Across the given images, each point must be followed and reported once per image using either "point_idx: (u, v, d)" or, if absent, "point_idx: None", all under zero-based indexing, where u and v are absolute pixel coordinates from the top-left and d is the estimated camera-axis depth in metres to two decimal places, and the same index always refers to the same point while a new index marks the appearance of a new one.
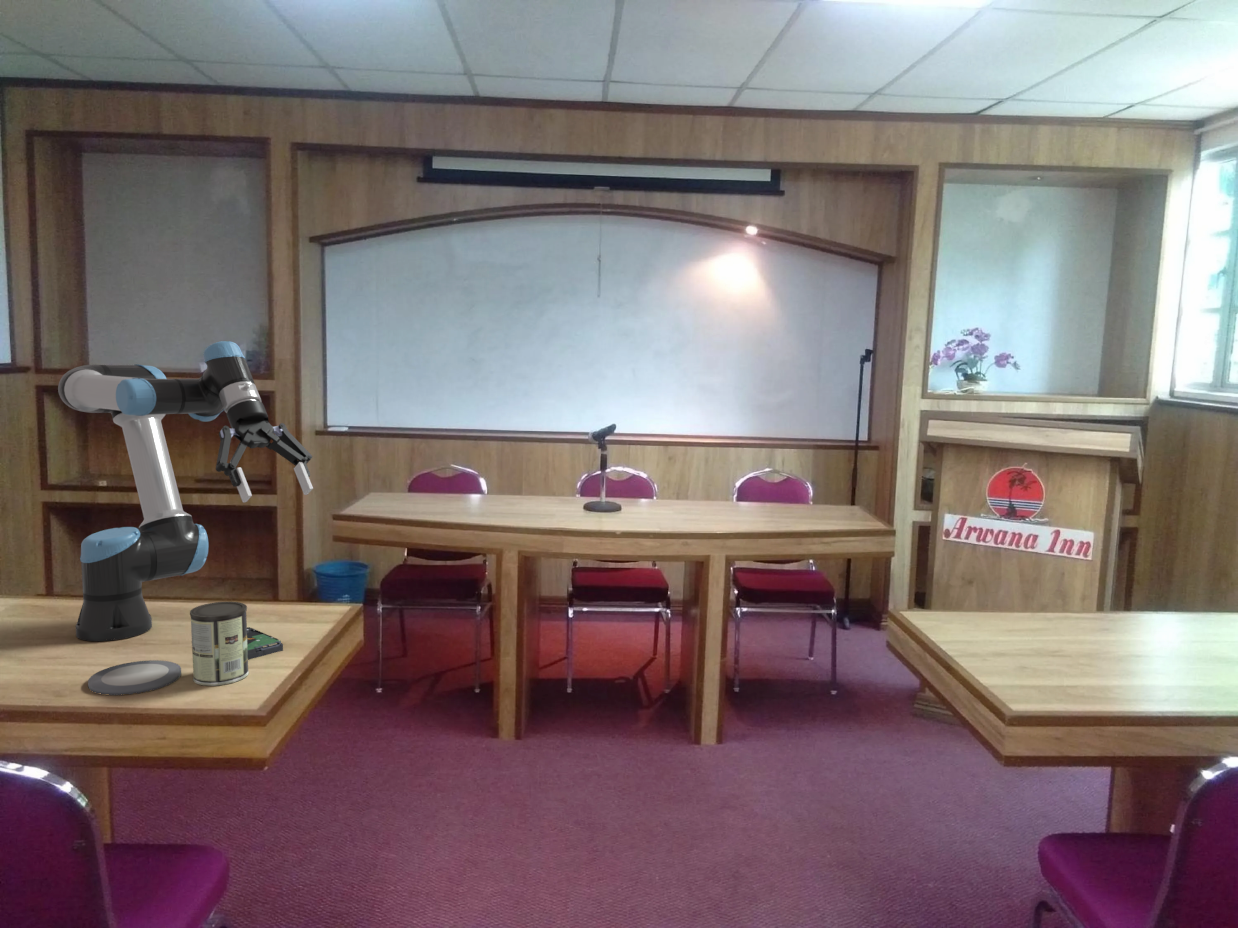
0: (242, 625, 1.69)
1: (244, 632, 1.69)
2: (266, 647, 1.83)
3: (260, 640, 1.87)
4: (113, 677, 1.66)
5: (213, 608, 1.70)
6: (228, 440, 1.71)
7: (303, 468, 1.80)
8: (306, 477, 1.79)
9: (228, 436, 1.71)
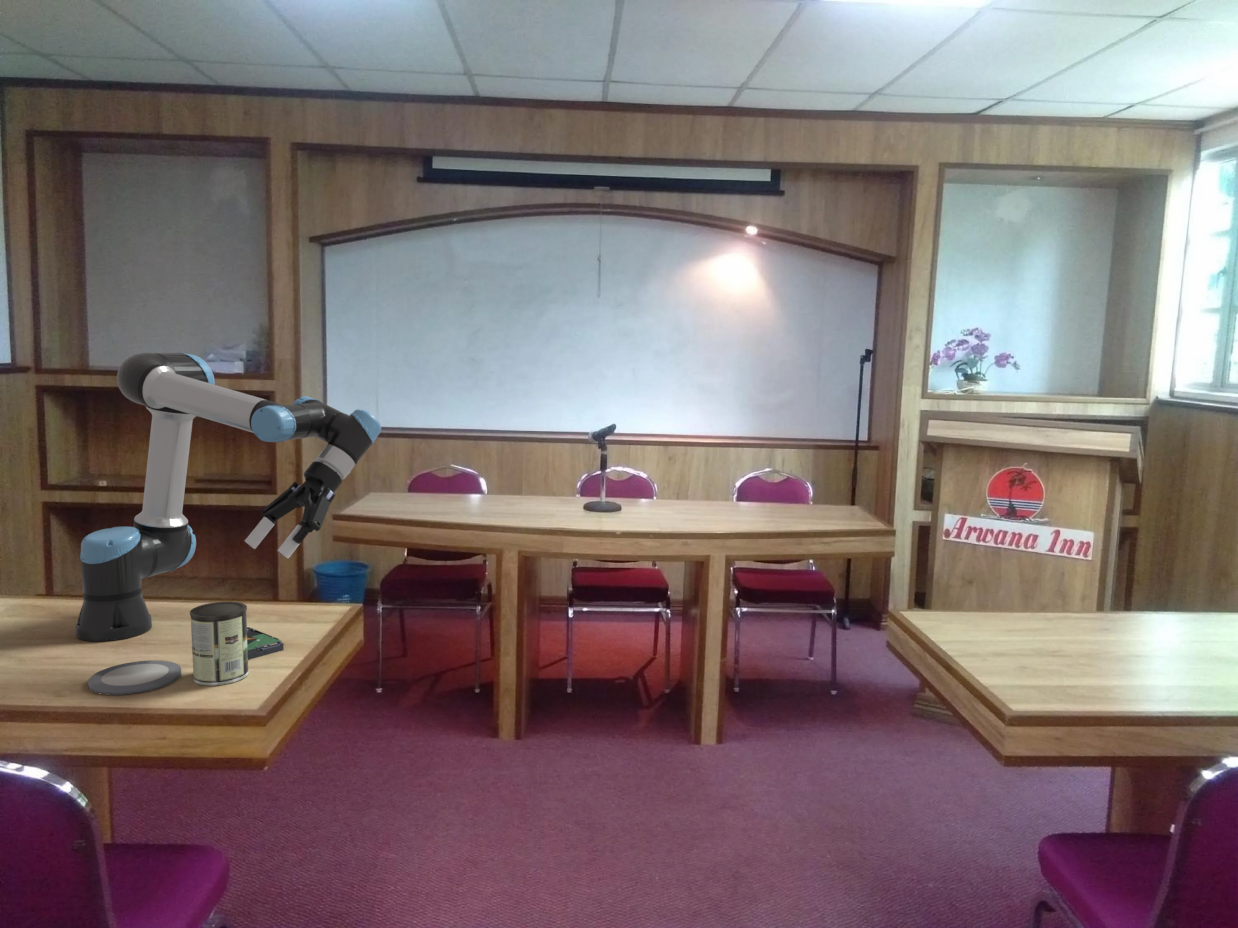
0: (242, 625, 1.69)
1: (244, 632, 1.69)
2: (267, 647, 1.83)
3: (260, 639, 1.87)
4: (113, 677, 1.66)
5: (213, 608, 1.70)
6: None
7: None
8: None
9: None
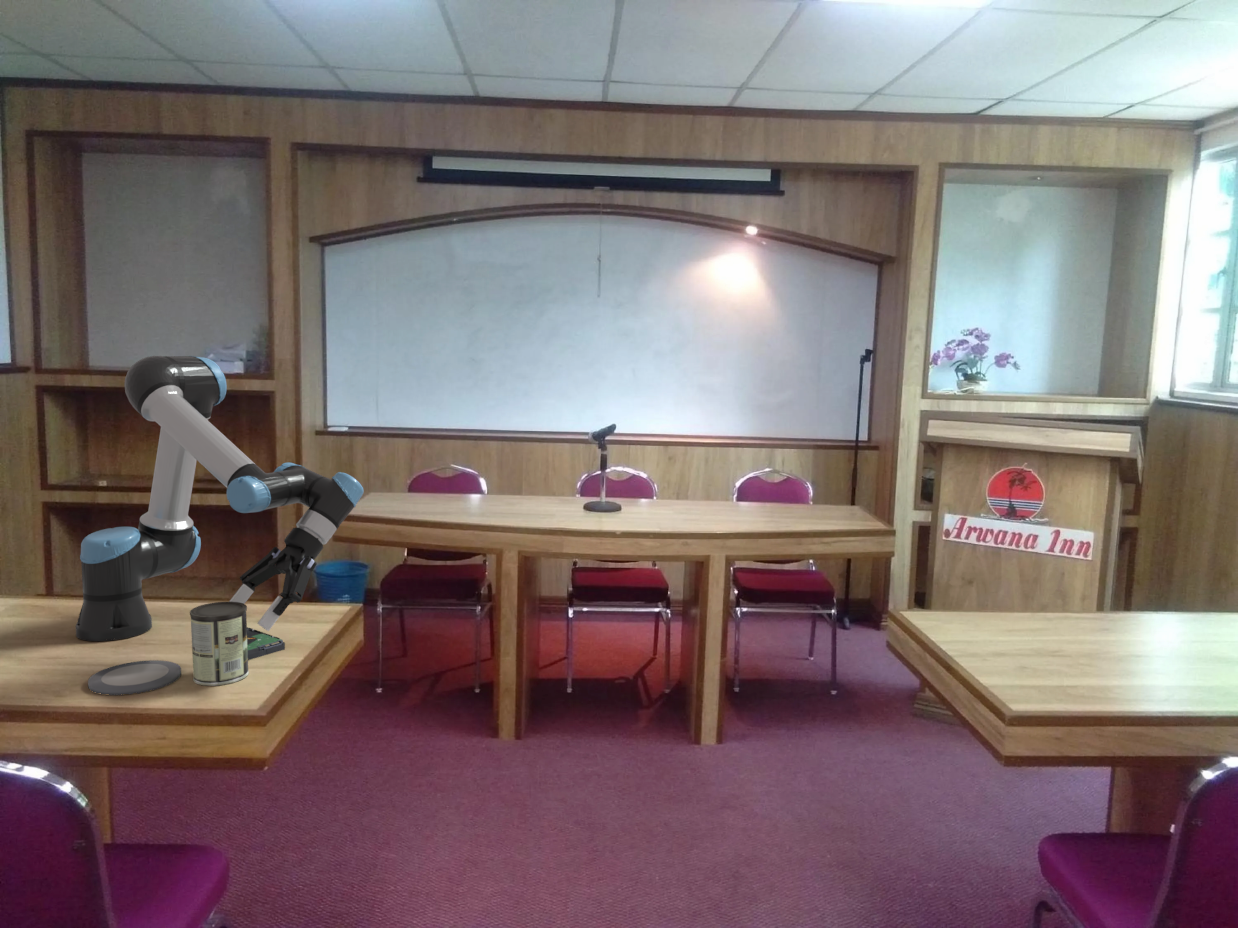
0: (242, 625, 1.69)
1: (244, 632, 1.69)
2: (269, 646, 1.84)
3: (261, 639, 1.87)
4: (113, 677, 1.66)
5: (213, 608, 1.70)
6: None
7: None
8: None
9: None
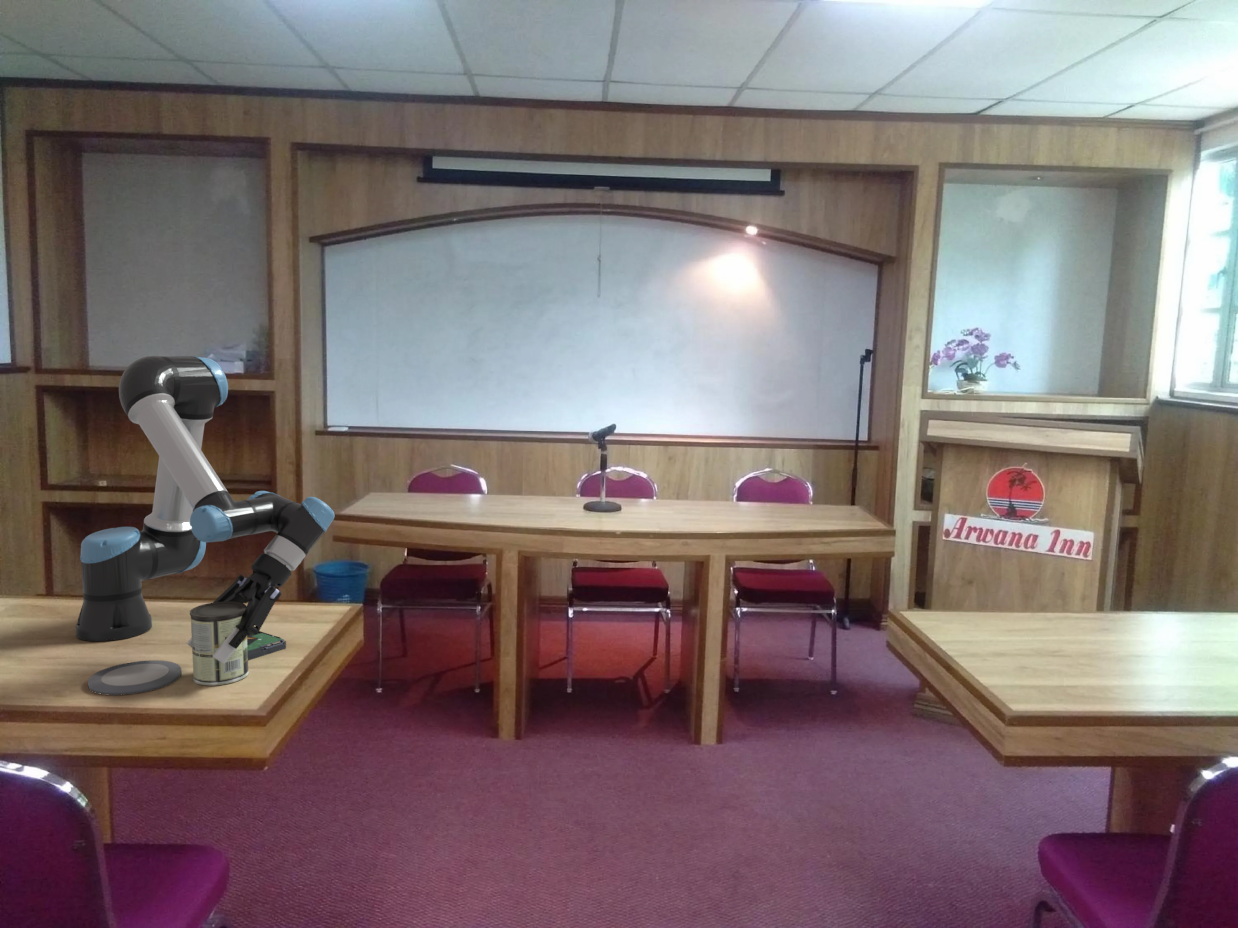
0: None
1: None
2: (270, 645, 1.84)
3: (262, 639, 1.87)
4: (113, 677, 1.66)
5: (213, 608, 1.70)
6: None
7: None
8: None
9: None
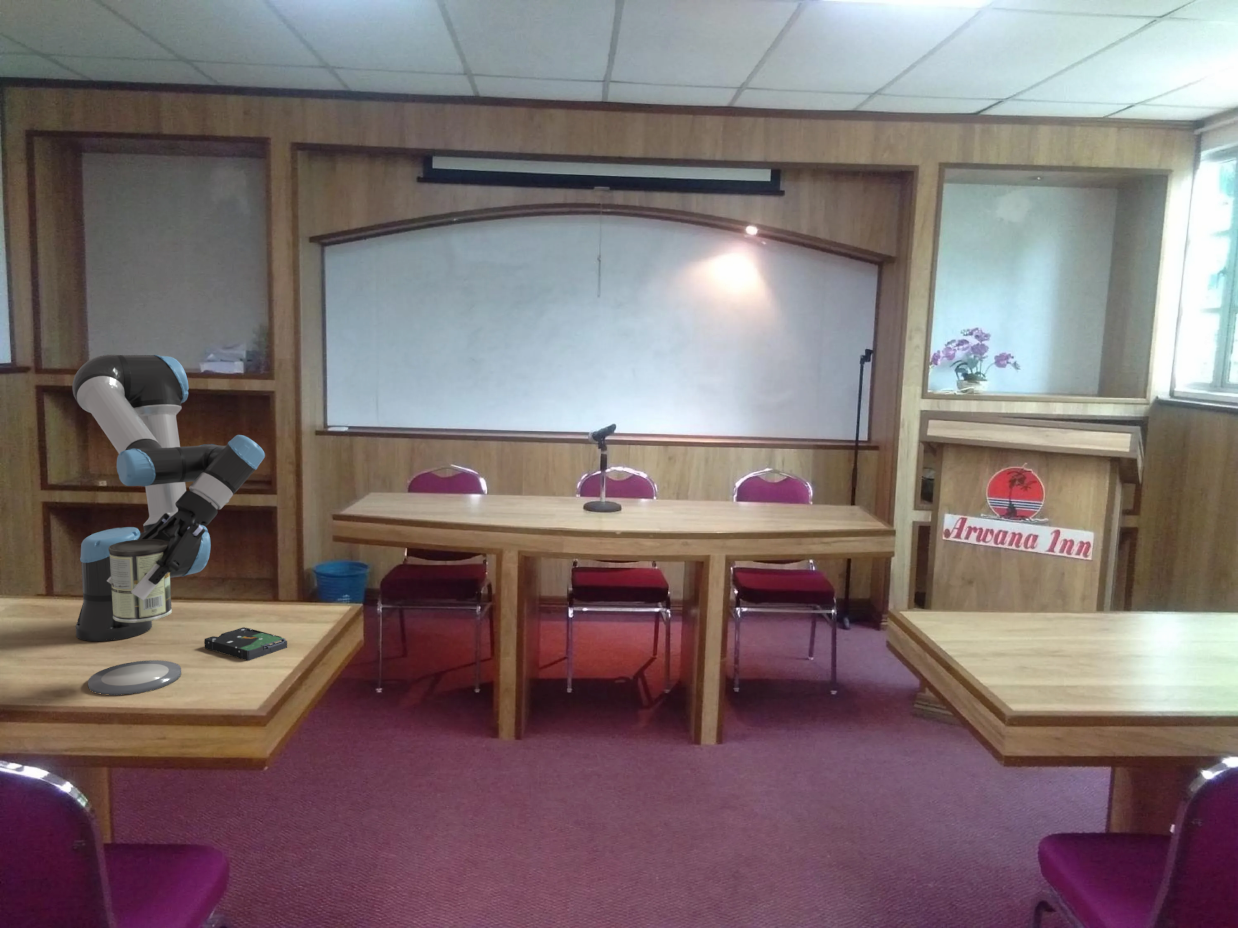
0: None
1: None
2: (272, 645, 1.85)
3: (263, 638, 1.88)
4: (113, 677, 1.66)
5: (134, 544, 1.65)
6: None
7: None
8: None
9: None
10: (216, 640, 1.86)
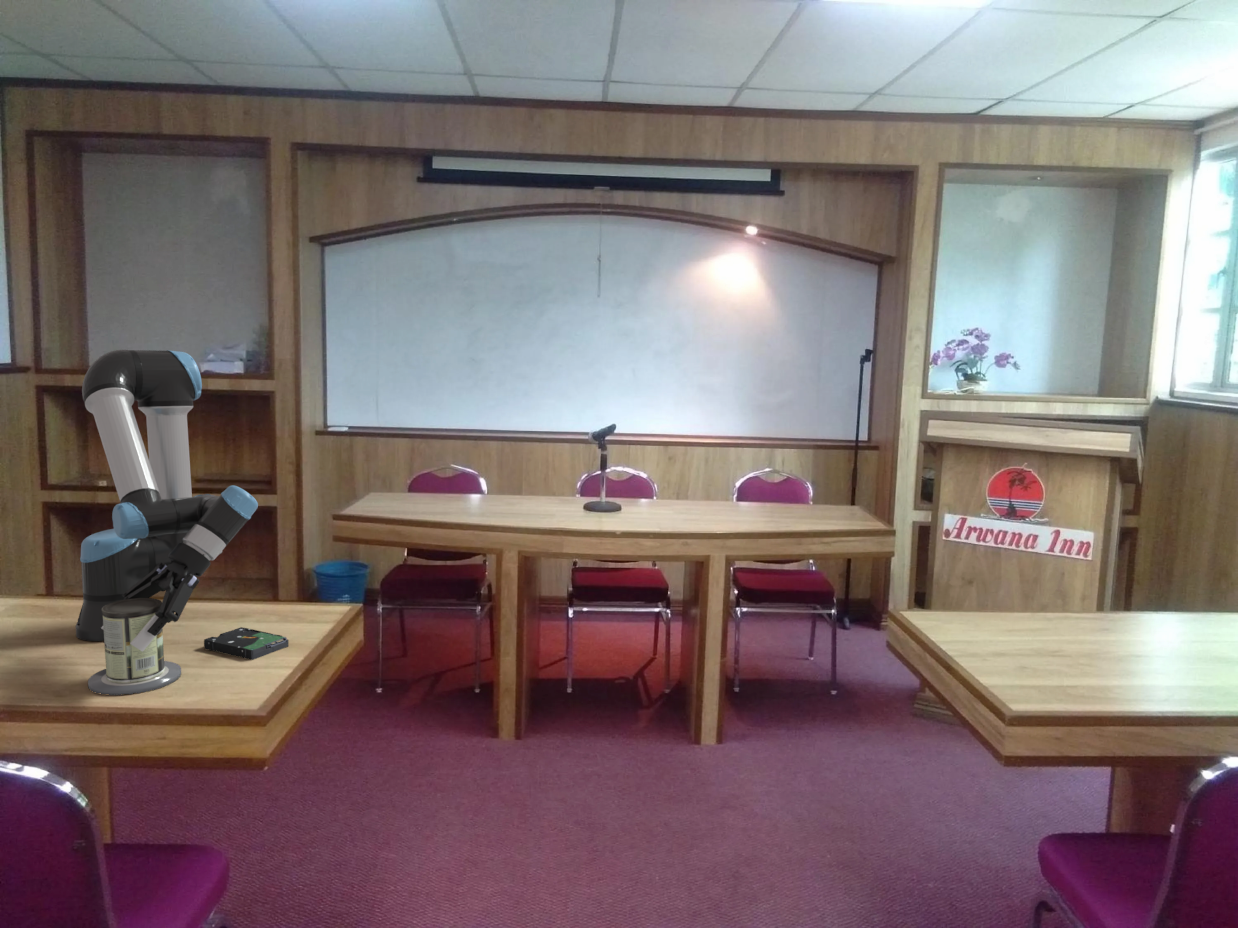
0: None
1: None
2: (275, 644, 1.86)
3: (264, 637, 1.88)
4: None
5: (127, 604, 1.67)
6: None
7: None
8: None
9: None
10: (216, 640, 1.85)
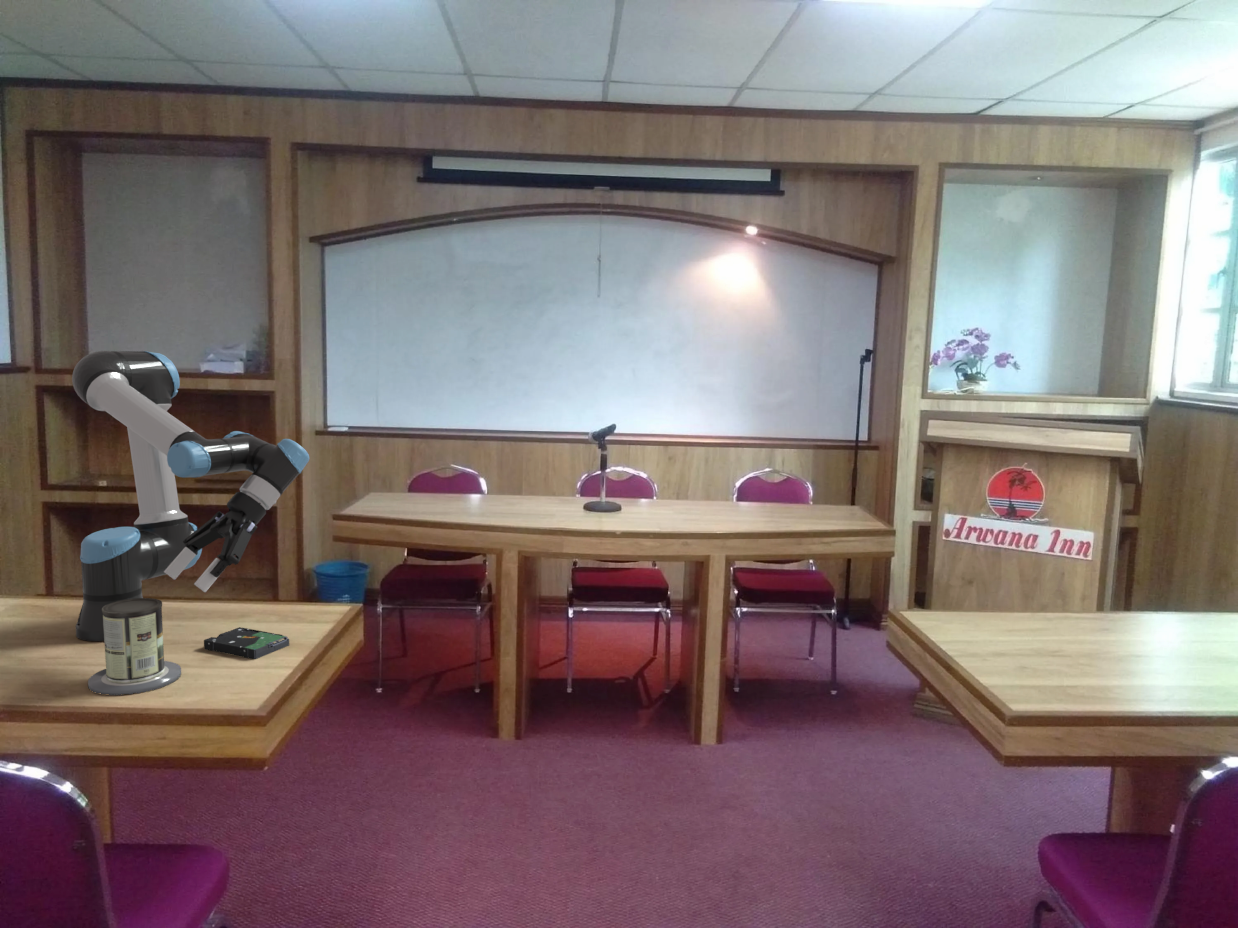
0: (156, 621, 1.66)
1: (158, 629, 1.67)
2: (276, 643, 1.86)
3: (264, 637, 1.88)
4: None
5: (128, 604, 1.67)
6: None
7: None
8: None
9: None
10: (217, 641, 1.85)
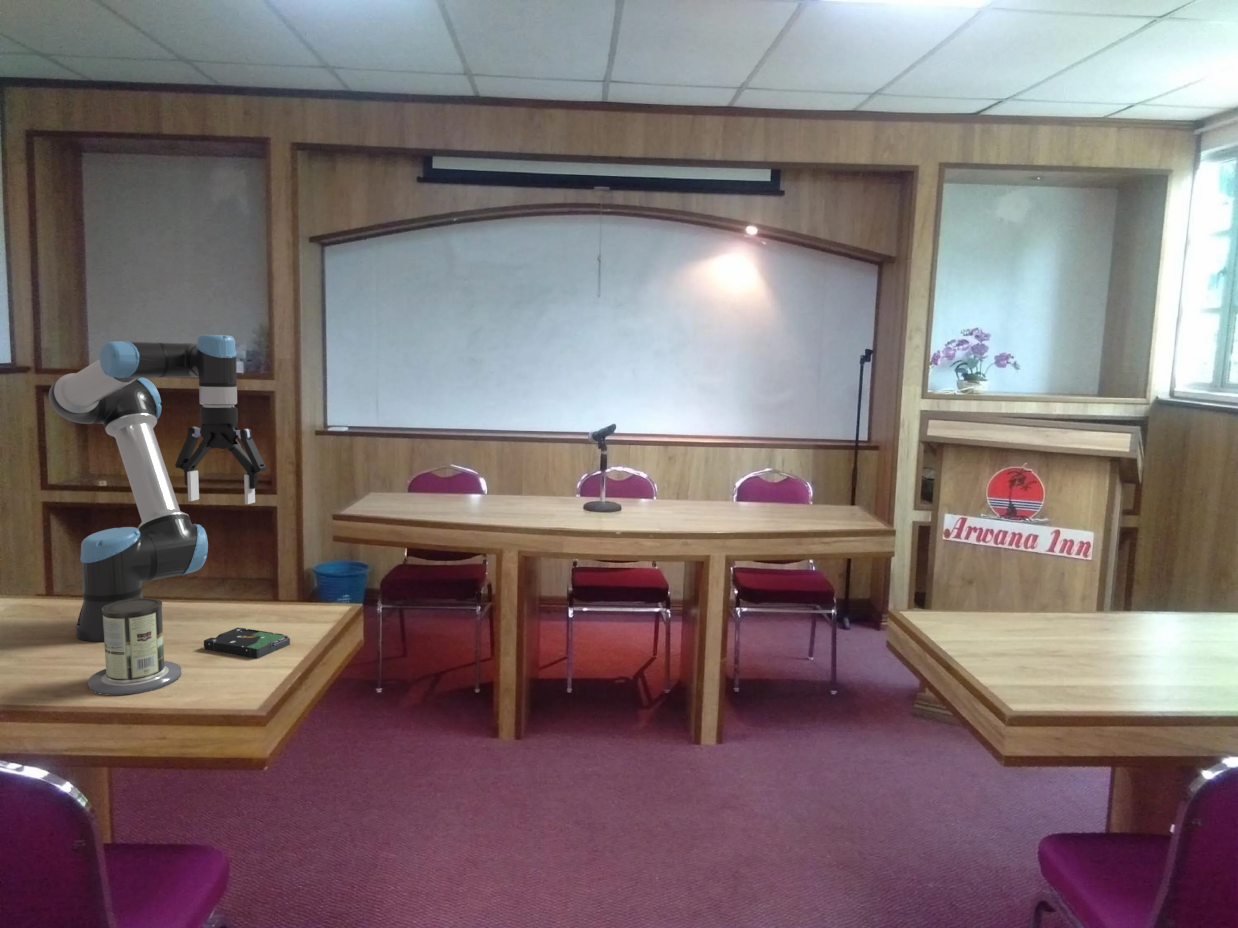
0: (156, 621, 1.66)
1: (158, 629, 1.67)
2: (277, 642, 1.87)
3: (265, 636, 1.89)
4: None
5: (128, 604, 1.67)
6: None
7: None
8: None
9: None
10: (217, 641, 1.85)
